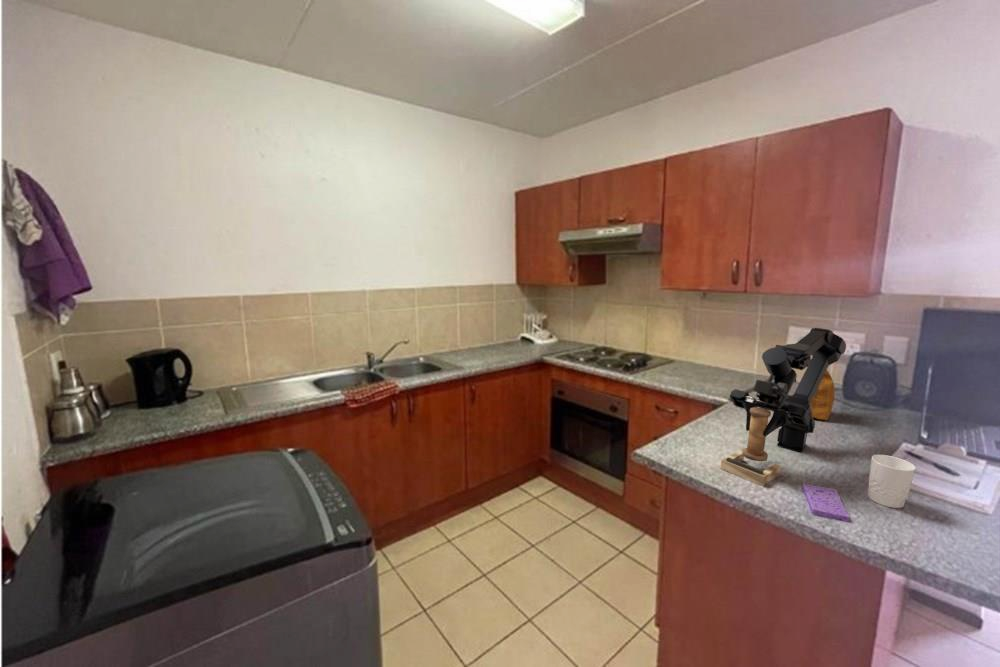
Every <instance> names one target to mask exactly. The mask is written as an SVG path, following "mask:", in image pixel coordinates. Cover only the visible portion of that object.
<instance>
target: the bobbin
mask: <svg viewBox="0 0 1000 667" xmlns="http://www.w3.org/2000/svg"><path fill="white" fill-rule="evenodd" d="M750 413H751V420H750V428H749V431H748V437H747V444H746V446H747V447H743V449H742V455H743V456H744V458H746V459H748V460H751V461H755V462H765V461H767V460H768V456H769V454H768V453H767V452H766V451H765V446H766V438H767V436H766V437H765V436H763V433H764V431H765V428H766V427H767V425H768V423H769V417H771V413H772V411H771V410H767V409H763V408H760V407H754V408H750Z"/></svg>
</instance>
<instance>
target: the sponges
mask: <svg viewBox="0 0 1000 667" xmlns="http://www.w3.org/2000/svg"><path fill="white" fill-rule="evenodd" d="M802 491H803V493H804V496H805V498H806V502H807V504H808V507H809V511H810V513H811V514H812V515H815V516H817V517H819V516H820V517H824V518H829V519H834V520H838V521H844V522H849V521H850V515H849V514H848V512H847V510H846V508H845V506H844V504H843V501H841V498H840V495H839V493H838V491H837V490H836V489H835V488H829V487H822V486H817V485H812V484H807V483H802Z"/></svg>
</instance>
